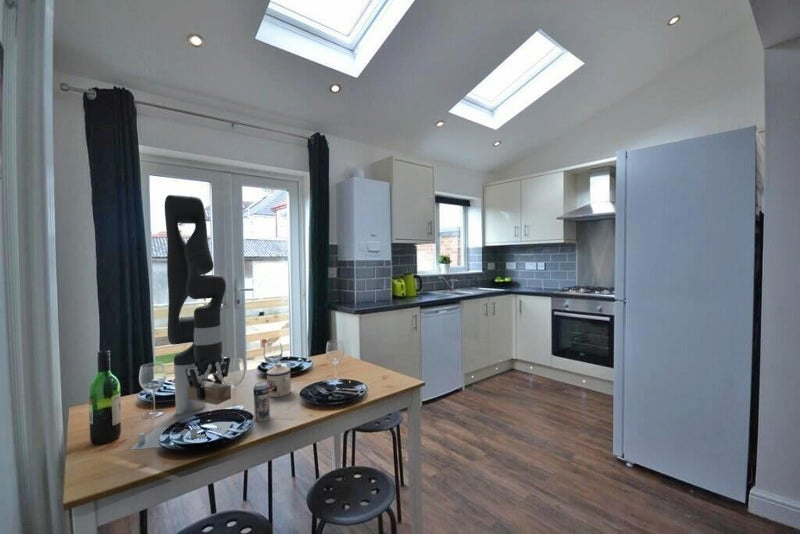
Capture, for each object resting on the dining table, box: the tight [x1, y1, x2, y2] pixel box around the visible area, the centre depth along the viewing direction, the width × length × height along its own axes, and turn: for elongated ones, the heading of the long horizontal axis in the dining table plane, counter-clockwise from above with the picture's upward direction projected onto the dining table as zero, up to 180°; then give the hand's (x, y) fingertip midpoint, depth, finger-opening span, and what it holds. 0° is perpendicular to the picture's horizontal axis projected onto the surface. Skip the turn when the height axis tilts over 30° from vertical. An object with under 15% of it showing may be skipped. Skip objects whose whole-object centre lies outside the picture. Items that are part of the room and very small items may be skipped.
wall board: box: [129, 421, 234, 451], centre depth 106 cm, size 13×23×4 cm, turn 97°
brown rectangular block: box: [188, 380, 232, 406], centre depth 110 cm, size 5×12×4 cm, turn 67°
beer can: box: [253, 381, 271, 422], centre depth 117 cm, size 5×5×12 cm
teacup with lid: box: [266, 363, 292, 398], centre depth 141 cm, size 12×9×12 cm
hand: (209, 395), depth 110 cm, fingers closed on brown rectangular block, 5 cm apart
